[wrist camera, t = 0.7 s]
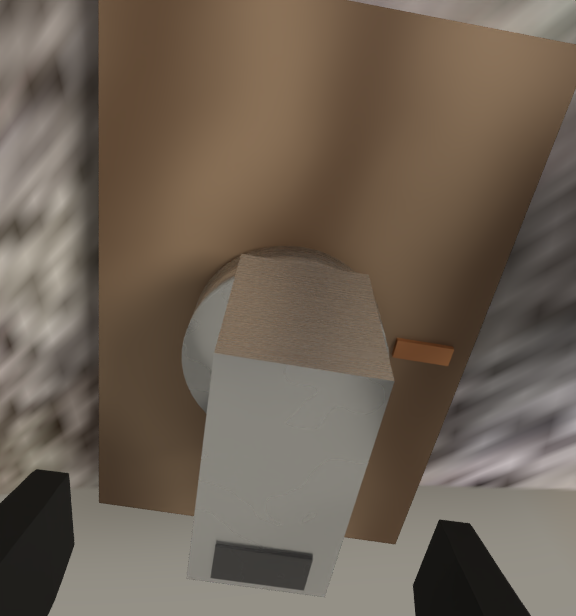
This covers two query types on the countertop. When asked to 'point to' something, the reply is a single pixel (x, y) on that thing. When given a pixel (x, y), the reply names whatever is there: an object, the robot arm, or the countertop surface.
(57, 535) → the robot arm
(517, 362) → the countertop surface
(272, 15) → the lock board
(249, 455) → the cap
